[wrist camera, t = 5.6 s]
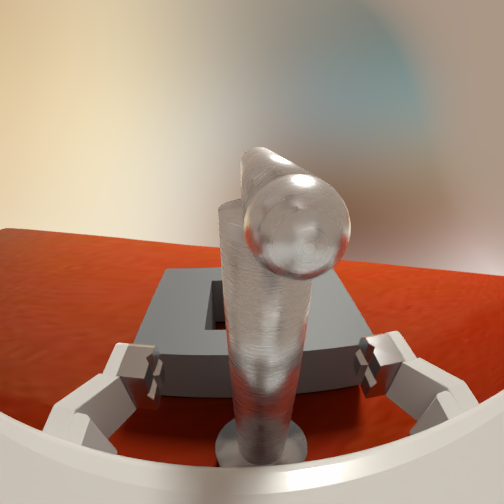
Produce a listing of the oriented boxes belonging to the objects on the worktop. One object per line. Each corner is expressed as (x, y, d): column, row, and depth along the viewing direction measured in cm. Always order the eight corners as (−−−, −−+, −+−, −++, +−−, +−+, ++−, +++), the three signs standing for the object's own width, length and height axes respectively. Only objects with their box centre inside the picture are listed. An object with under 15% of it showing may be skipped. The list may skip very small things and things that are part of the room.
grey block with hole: (147, 393, 15) (130, 351, 14) (172, 307, 24) (166, 268, 23) (360, 384, 16) (377, 341, 14) (324, 302, 25) (330, 264, 23)
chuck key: (218, 516, 8) (76, 198, 2) (220, 408, 15) (192, 148, 9) (311, 510, 8) (480, 199, 2) (292, 405, 15) (320, 148, 9)
